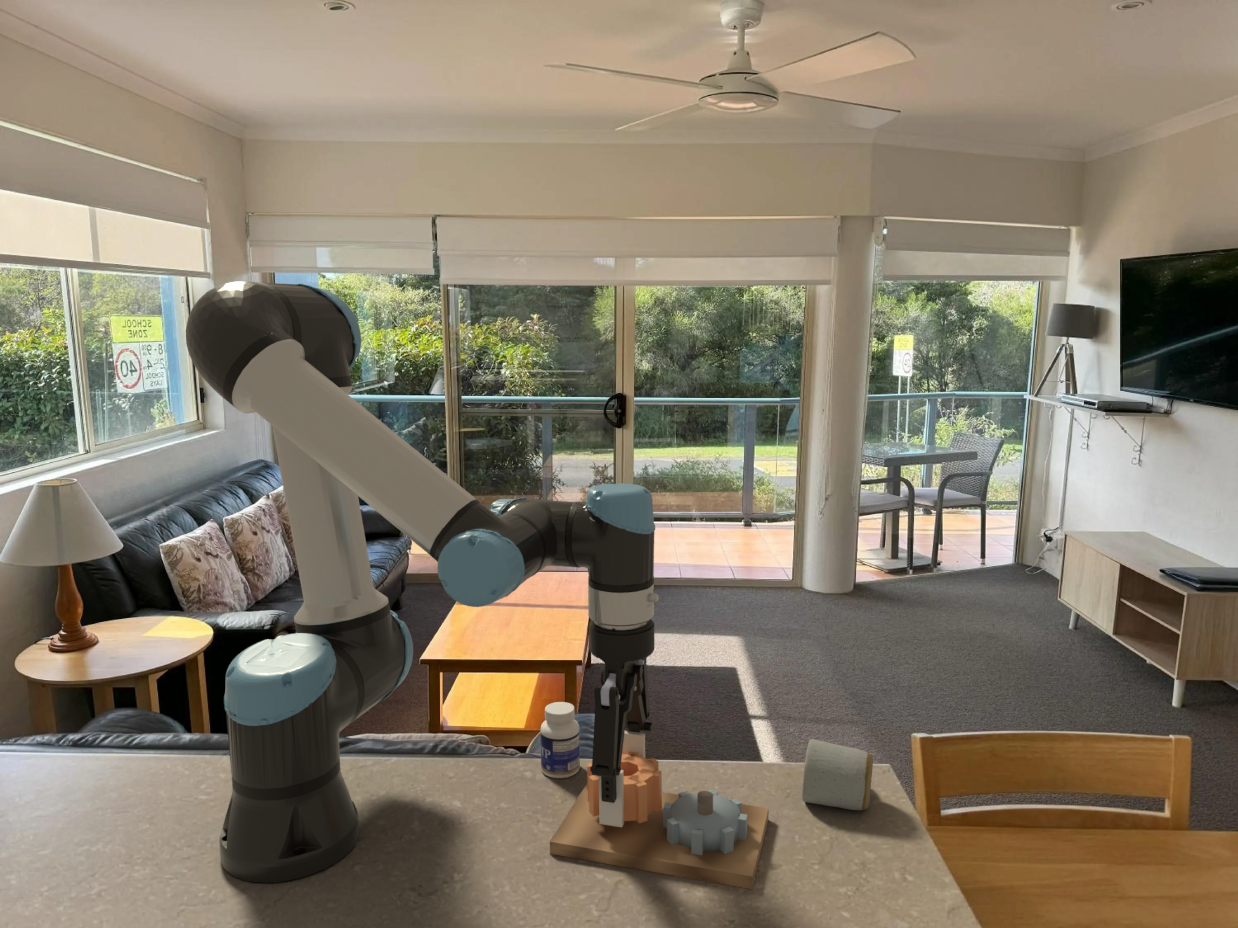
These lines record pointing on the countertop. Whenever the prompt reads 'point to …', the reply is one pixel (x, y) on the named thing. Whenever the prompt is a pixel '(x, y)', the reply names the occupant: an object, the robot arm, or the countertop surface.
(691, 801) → the slate gear
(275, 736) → the robot arm
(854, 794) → the ceramic mug
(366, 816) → the countertop surface
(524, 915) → the countertop surface
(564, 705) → the pill bottle
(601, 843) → the walnut board
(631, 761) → the terracotta gear
